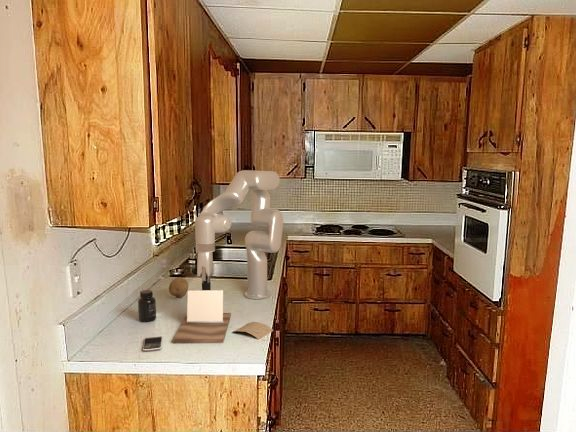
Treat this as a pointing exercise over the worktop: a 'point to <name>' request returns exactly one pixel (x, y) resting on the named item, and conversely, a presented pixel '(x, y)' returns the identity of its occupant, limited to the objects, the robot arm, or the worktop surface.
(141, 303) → the supplement bottle
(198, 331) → the walnut board
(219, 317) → the ceramic tile
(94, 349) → the worktop surface
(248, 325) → the clay tablet
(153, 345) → the cell phone
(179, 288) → the natural sponge
